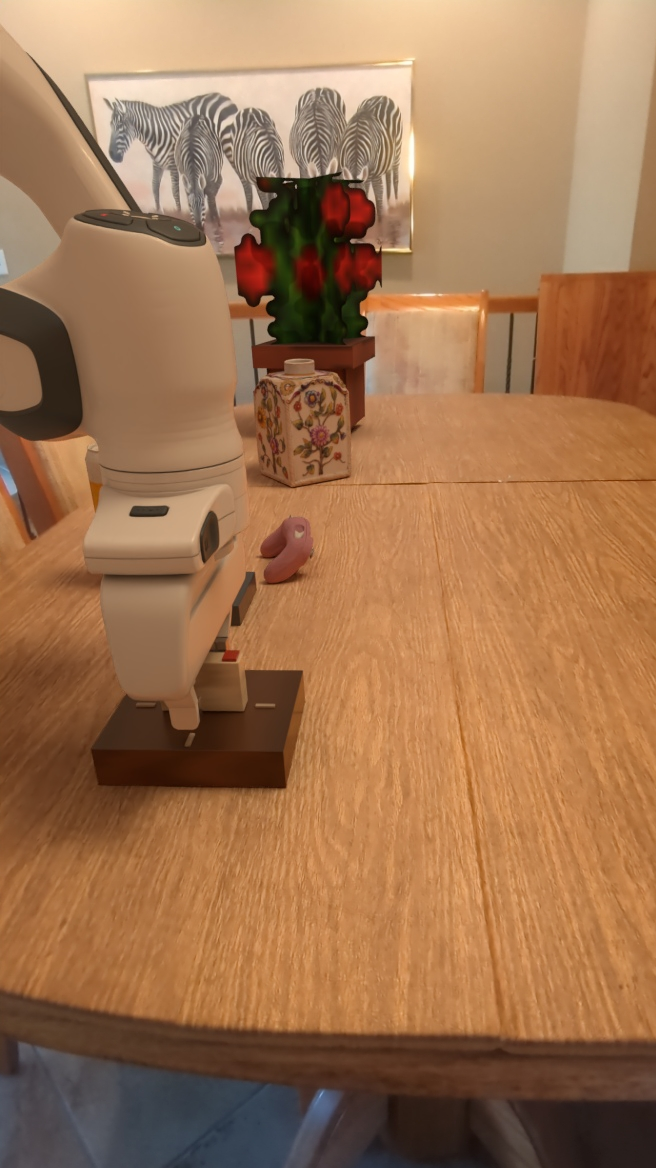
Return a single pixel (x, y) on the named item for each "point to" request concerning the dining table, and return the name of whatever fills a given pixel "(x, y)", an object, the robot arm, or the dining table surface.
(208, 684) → the bar knob
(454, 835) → the dining table surface
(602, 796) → the dining table surface
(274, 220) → the potted plant
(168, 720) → the knob base
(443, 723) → the dining table surface
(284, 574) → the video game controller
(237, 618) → the block
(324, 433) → the decorative jar
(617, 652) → the dining table surface
